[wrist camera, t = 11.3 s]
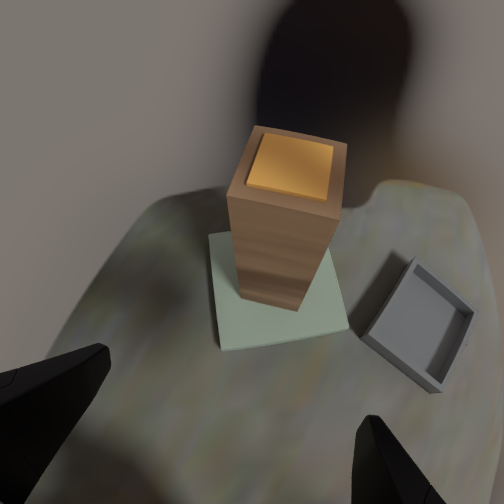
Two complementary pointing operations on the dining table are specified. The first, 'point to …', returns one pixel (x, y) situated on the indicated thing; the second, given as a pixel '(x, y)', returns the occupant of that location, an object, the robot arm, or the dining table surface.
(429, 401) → the dining table surface
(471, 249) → the dining table surface
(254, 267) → the walnut box
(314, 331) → the sage pad
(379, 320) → the grey square tray
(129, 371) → the dining table surface
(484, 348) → the dining table surface
